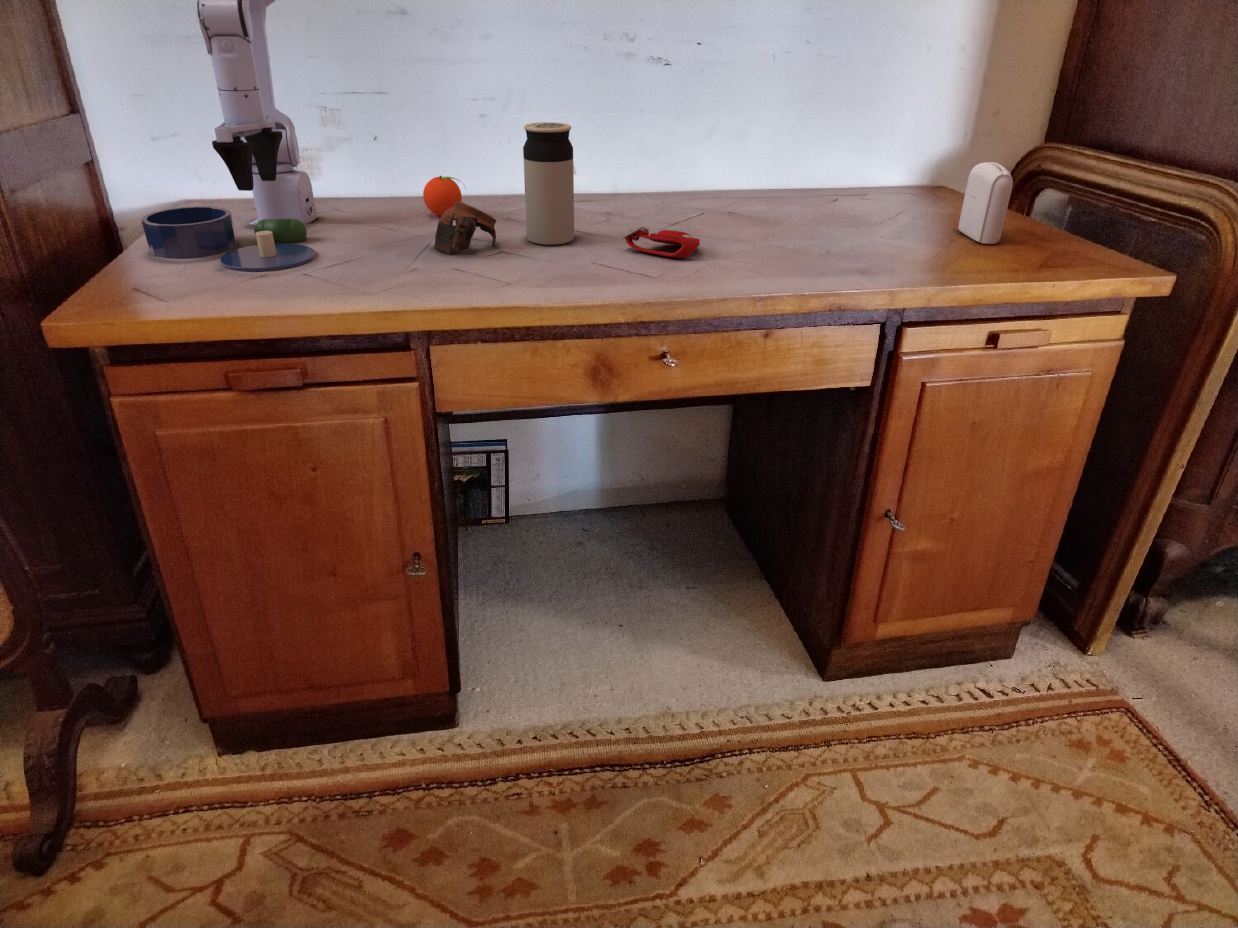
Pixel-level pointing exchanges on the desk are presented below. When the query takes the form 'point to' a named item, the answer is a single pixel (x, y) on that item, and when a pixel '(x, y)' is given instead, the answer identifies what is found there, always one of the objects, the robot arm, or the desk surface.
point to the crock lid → (267, 255)
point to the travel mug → (549, 183)
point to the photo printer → (986, 202)
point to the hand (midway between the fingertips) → (257, 185)
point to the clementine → (441, 194)
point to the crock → (189, 232)
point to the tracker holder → (664, 241)
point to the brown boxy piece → (462, 227)
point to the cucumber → (283, 229)
